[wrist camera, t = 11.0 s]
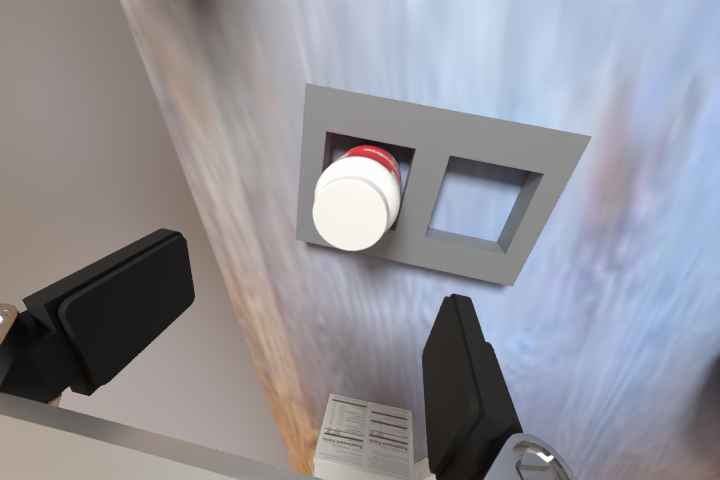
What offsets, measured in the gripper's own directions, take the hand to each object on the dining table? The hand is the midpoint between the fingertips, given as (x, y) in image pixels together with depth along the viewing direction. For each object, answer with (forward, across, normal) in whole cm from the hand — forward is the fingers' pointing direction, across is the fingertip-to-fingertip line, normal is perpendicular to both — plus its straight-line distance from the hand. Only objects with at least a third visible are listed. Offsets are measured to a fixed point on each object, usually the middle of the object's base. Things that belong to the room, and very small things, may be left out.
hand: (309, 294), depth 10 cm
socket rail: (+19, -5, 0) cm, 19 cm away
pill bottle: (+19, 0, 0) cm, 19 cm away
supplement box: (+19, -7, +42) cm, 47 cm away
